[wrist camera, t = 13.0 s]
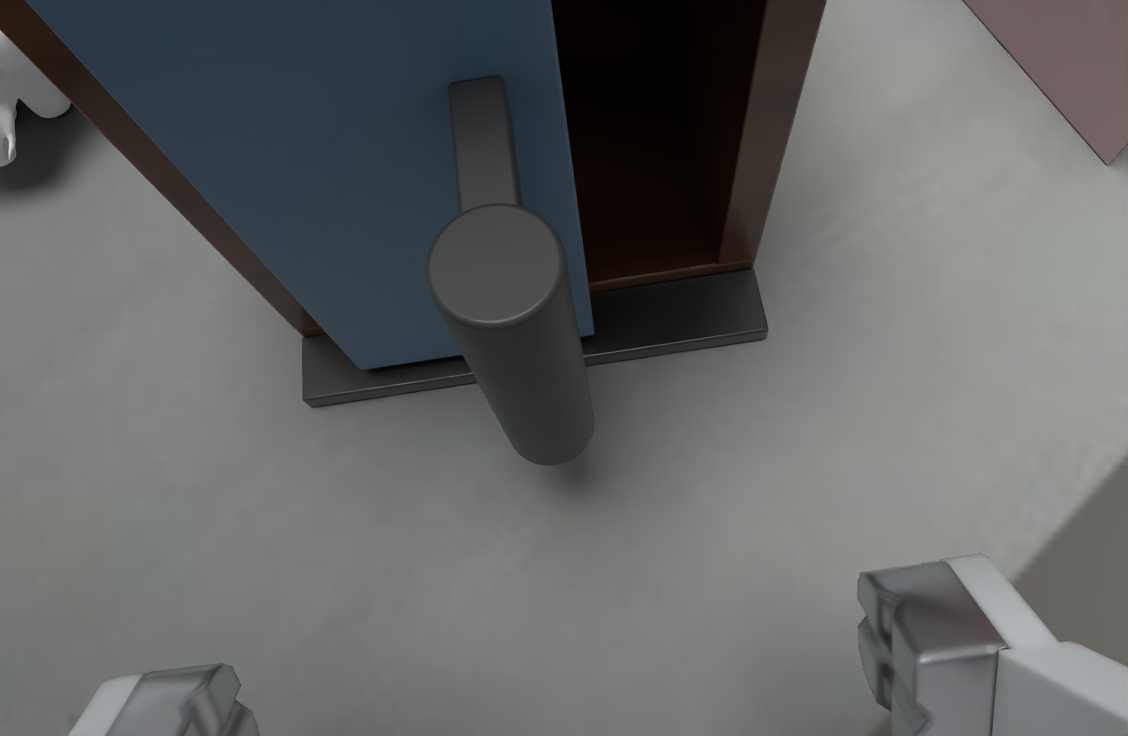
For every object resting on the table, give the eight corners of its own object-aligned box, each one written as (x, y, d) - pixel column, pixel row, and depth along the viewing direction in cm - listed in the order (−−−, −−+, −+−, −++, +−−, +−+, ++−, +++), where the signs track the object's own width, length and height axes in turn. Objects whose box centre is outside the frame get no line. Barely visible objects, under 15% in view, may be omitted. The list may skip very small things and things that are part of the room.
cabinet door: (618, 487, 19) (583, 180, 7) (365, 524, 19) (-64, 282, 8) (589, 299, 21) (524, -191, 9) (358, 334, 21) (2, -100, 9)
